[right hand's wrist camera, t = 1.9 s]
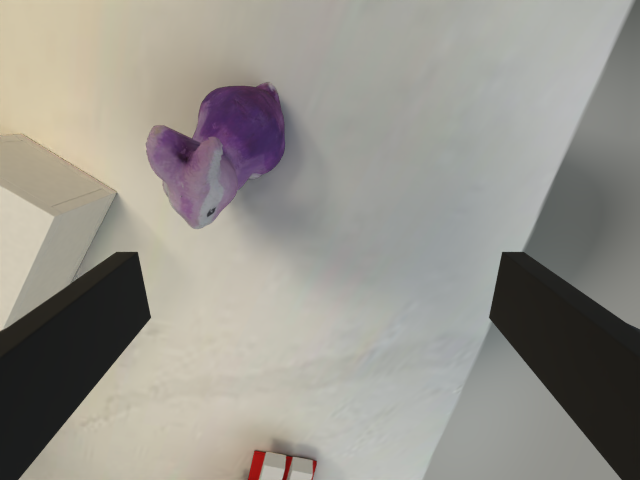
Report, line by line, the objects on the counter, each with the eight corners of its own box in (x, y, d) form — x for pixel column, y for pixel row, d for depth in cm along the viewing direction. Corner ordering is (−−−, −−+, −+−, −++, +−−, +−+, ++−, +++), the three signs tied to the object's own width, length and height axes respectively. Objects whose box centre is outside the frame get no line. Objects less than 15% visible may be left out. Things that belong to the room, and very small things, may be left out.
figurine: (215, 202, 37) (149, 258, 23) (182, 100, 33) (81, 92, 19) (301, 184, 36) (289, 231, 22) (277, 79, 32) (245, 54, 18)
